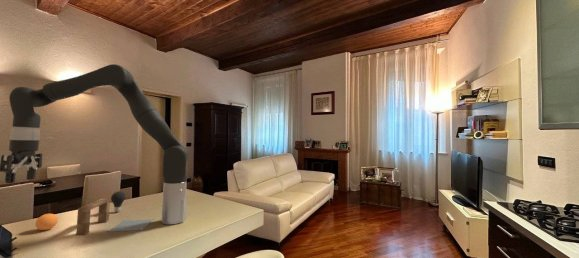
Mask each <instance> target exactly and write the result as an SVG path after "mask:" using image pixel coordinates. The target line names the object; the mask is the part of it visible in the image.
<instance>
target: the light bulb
mask: <svg viewBox="0 0 579 258" xmlns="http://www.w3.org/2000/svg"><path fill="white" fill-rule="evenodd" d="M125 199H126V194H125V192H124V191H115V192H114V193H113V194H112V195H111V196H110V202H111V203H112V204H113V207H114V209H113V210H114V212H116V213H119V212H121V210H122V205H123V203H124V201H125Z"/></svg>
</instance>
